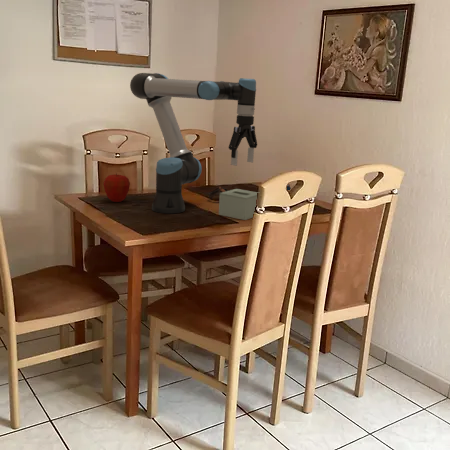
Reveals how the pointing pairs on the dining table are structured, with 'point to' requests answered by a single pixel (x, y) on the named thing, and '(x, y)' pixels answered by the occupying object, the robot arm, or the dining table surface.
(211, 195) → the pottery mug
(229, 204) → the coin box
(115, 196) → the apple
